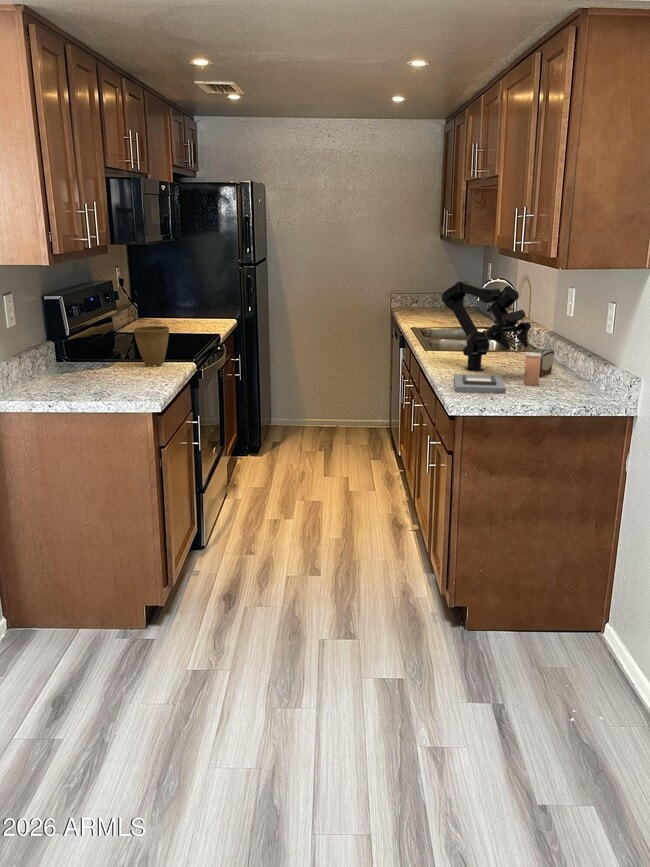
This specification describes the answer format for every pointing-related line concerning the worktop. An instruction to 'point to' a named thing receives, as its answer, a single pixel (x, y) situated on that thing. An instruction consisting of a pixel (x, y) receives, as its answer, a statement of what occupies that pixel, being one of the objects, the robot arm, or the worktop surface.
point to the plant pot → (152, 343)
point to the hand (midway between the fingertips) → (517, 347)
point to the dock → (479, 383)
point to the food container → (545, 361)
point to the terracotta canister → (532, 368)
